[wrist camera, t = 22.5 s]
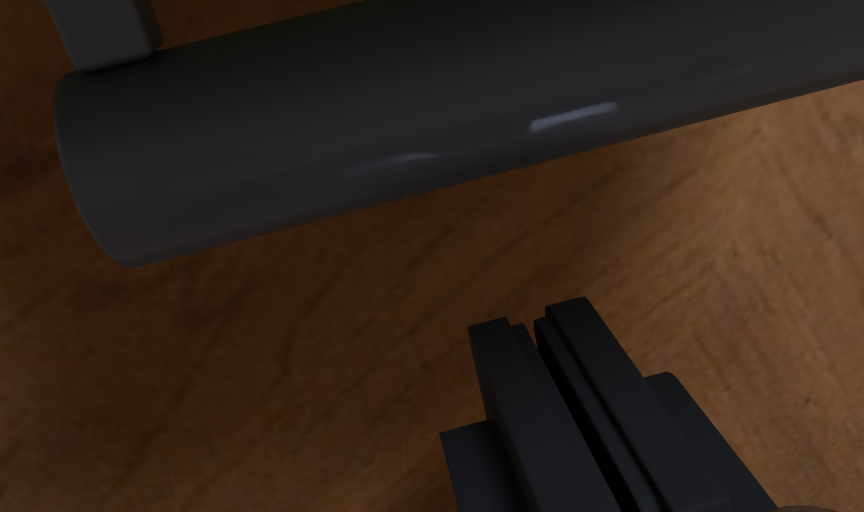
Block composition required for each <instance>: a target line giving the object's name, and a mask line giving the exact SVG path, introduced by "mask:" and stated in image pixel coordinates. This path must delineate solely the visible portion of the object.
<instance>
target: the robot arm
mask: <svg viewBox="0 0 864 512" xmlns="http://www.w3.org/2000/svg"><path fill="white" fill-rule="evenodd" d="M534 331H535V337H536V343H537V348H538V350H537V348H536V346H535V344H534V342H533V340H532V338H531V336H530V334H529V332H528V331H527V329H526V327H525V325H524V324H523V323H520V324H516V325H512V326H510V324H509V322H508V320H507V318H506V317H502V318H498V319H494V320H491V321H487V322H483V323H479V324H475V325H472V326H468V335H469V340H470V345H471V349H472V354H473V358H474V363H475V367H476V372H477V377H478V381H479V386H480V390H481V395H482V399H483V404H484V409H485V413H486V418H487V420H485V421H481V422H477V423H474V424H470V425H466V426H463V427H459V428H455V429H451V430H448V431H444V432H440V433H439V434H440V437H441V441H442V445H443V449H444V453H445V457H446V461H447V465H448V469H449V472H450V476H451V480H452V484H453V488H454V492H455V496H456V500H457V504H458V508H459V511H460V512H837V511H835V510H830V509H825V508H820V507H815V506H809V505H808V506H784V507H780V508H778V507H777V506H776V505H775V503H774V502H773V501H772V499H771V498H770V497H769V496H768V494H767V493H766V492H765V490H764V489H763V488H762V487H761V485H760V484H759V483H758V481H757V480H756V479H755V478H754V476H753V475H752V474H751V472H750V471H749V470H748V469H747V467H746V466H745V465H744V464H743V462H742V461H741V460H740V458H739V457H738V456H737V455H736V453H735V452H734V451H733V449H732V448H731V447H730V446H729V444H728V443H727V442H726V440H725V439H724V438H723V437H722V435H721V434H720V433H719V431H718V430H717V429H716V428H715V426H714V425H713V424H712V423H711V421H710V420H709V419H708V417H707V416H706V415H705V414H704V412H703V411H702V410H701V408H700V407H699V406H698V405H697V403H696V402H695V401H694V399H693V398H692V397H691V396H690V394H689V393H688V392H687V390H686V389H685V388H684V387H683V385H682V384H681V383H680V382H679V380H678V379H677V378H676V377H675V376H674V375H673V374H672V373H669V372H663V373H660V374H656V375H652V376H648V377H645V378H643V376H642V375H641V373H640V372H639V371H638V369H637V368H636V366H635V365H634V364H633V362H632V361H631V359H630V358H629V357H628V355H627V354H626V352H625V351H624V349H623V348H622V347H621V345H620V344H619V342H618V341H617V340H616V338H615V337H614V335H613V334H612V333H611V331H610V330H609V328H608V327H607V326H606V324H605V323H604V321H603V320H602V319H601V317H600V316H599V314H598V313H597V312H596V310H595V309H594V307H593V306H592V305H591V303H590V302H589V300H588V299H587V298H586V297H584V296H582V297H578V298H574V299H571V300H567V301H563V302H559V303H555V304H552V305H548V306H546V307H545V317H543V318H539V319H535V320H534Z"/></svg>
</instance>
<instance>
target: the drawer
mask: <svg viewBox="0 0 864 512" xmlns="http://www.w3.org/2000/svg"><path fill="white" fill-rule="evenodd" d="M44 1H45V3H46V6H47V8H48V10H49V13H50V15H51V17H52V20H53V22H54V24H55V27H56V29H57V32H58V34H59V36H60V39H61V41H62V43H63V46H64V48H65V50H66V53H67V55H68V57H69V60H70V62H71V64H72V66H73V67H74V69H75V70H76V71H73V72H70V73H68V74H66V75H65V76H63V77H62V78H61V79H60V80H59V81H58V83H57V85H56V87H55V91H54V95H53V105H52V115H53V127H54V134H55V140H56V145H57V150H58V155H59V159H60V162H61V166H62V170H63V173H64V176H65V179H66V182H67V185H68V187H69V190H70V193H71V195H72V197H73V200H74V202H75V204H76V207H77V209H78V211H79V213H80V215H81V217H82V219H83V221H84V222H85V224H86V226H87V228H88V230H89V231H90V233H91V234H92V236H93V238H94V239H95V241H96V242H97V243H98V245H99V246H100V247H101V249H102V250H103V251H104V252H105V253H106V254H107V255H108V256H109V257H110V258H111V259H112V260H113V261H114V262H116V263H118V264H119V265H121V266H125V267H131V268H135V267H140V266H144V265H148V264H151V263H155V262H159V261H163V260H167V259H171V258H175V257H179V256H182V255H186V254H190V253H194V252H198V251H202V250H206V249H210V248H213V247H217V246H221V245H225V244H229V243H233V242H237V241H241V240H244V239H248V238H252V237H256V236H260V235H264V234H268V233H271V232H275V231H279V230H283V229H287V228H291V227H295V226H299V225H302V224H306V223H310V222H314V221H318V220H322V219H326V218H330V217H333V216H337V215H341V214H345V213H349V212H353V211H357V210H361V209H364V208H368V207H372V206H376V205H380V204H384V203H388V202H391V201H395V200H399V199H403V198H407V197H411V196H415V195H419V194H422V193H426V192H430V191H434V190H438V189H442V188H446V187H450V186H453V185H457V184H461V183H465V182H469V181H473V180H477V179H481V178H484V177H488V176H492V175H496V174H500V173H504V172H508V171H511V170H515V169H519V168H523V167H527V166H531V165H535V164H539V163H542V162H546V161H550V160H554V159H558V158H562V157H566V156H570V155H573V154H577V153H581V152H585V151H589V150H593V149H597V148H601V147H604V146H608V145H612V144H616V143H620V142H624V141H628V140H631V139H635V138H639V137H643V136H647V135H651V134H655V133H659V132H662V131H666V130H670V129H674V128H678V127H682V126H686V125H690V124H693V123H697V122H701V121H705V120H709V119H713V118H717V117H721V116H724V115H728V114H732V113H736V112H740V111H744V110H748V109H752V108H755V107H759V106H763V105H767V104H771V103H775V102H779V101H782V100H786V99H790V98H794V97H798V96H802V95H806V94H810V93H813V92H817V91H821V90H825V89H829V88H833V87H837V86H841V85H844V84H848V83H852V82H856V81H860V80H864V0H364V1H359V2H355V3H351V4H347V5H343V6H339V7H335V8H331V9H327V10H323V11H318V12H314V13H310V14H306V15H302V16H298V17H294V18H290V19H286V20H282V21H278V22H273V23H269V24H265V25H261V26H257V27H253V28H249V29H245V30H241V31H237V32H232V33H228V34H224V35H220V36H216V37H212V38H208V39H204V40H200V41H196V42H192V43H187V44H183V45H179V46H175V47H171V48H167V49H163V50H159V51H156V50H157V49H158V48H159V47H160V46H161V45H162V44H163V34H162V31H161V28H160V26H159V23H158V20H157V17H156V15H155V12H154V9H153V6H152V4H151V1H150V0H44Z"/></svg>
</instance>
